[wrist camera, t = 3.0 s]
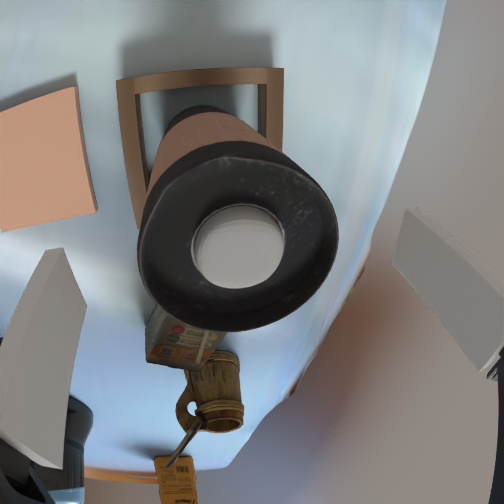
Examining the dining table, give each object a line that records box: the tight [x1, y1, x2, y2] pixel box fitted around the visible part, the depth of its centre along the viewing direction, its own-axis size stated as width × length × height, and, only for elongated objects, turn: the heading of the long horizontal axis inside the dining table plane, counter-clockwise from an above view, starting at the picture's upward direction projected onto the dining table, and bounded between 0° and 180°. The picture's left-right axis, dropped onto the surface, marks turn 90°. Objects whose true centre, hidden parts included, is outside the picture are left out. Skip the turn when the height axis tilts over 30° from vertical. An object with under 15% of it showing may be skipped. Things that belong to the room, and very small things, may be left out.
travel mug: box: [137, 106, 339, 332], centre depth 18 cm, size 8×8×20 cm
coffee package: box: [154, 456, 198, 504], centre depth 62 cm, size 10×12×22 cm
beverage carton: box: [145, 304, 227, 372], centre depth 34 cm, size 8×19×7 cm, turn 148°
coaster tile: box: [0, 86, 98, 232], centre depth 22 cm, size 13×13×1 cm
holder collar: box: [116, 67, 284, 229], centre depth 25 cm, size 14×14×3 cm
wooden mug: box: [166, 350, 244, 468], centre depth 38 cm, size 9×14×18 cm, turn 66°
